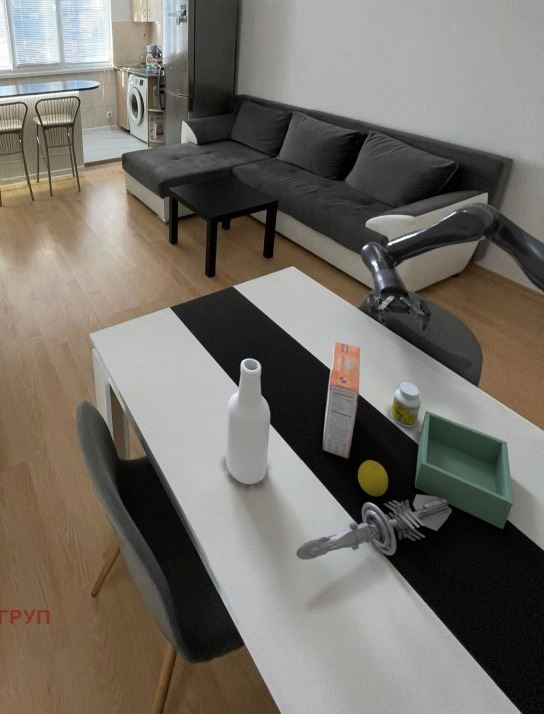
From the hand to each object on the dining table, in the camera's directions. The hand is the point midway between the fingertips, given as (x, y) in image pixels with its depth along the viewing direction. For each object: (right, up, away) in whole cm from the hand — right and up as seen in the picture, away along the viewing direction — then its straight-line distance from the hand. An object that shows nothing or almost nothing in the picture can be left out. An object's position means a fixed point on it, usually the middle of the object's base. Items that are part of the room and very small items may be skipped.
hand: (404, 325), depth 108 cm
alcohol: (-43, -28, -12) cm, 53 cm away
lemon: (-18, -29, -18) cm, 39 cm away
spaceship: (-22, -33, -26) cm, 47 cm away
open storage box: (+1, -27, -16) cm, 32 cm away
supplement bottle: (-2, -22, -3) cm, 22 cm away
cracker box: (-20, -24, -5) cm, 31 cm away
